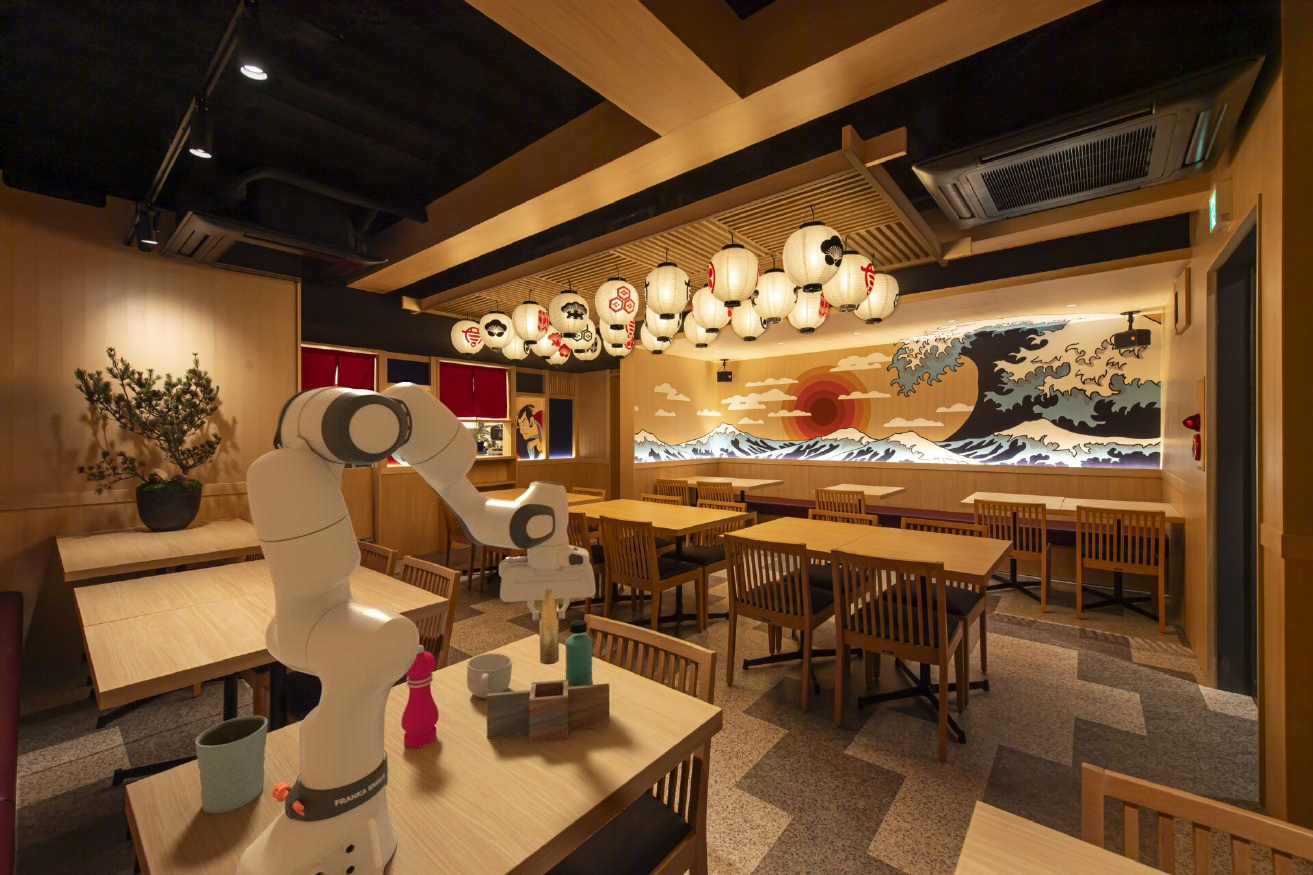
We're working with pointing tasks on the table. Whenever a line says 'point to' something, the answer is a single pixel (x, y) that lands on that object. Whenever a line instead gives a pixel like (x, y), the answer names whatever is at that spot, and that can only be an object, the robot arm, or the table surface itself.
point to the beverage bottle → (579, 655)
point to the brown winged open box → (547, 710)
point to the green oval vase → (231, 763)
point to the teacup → (488, 674)
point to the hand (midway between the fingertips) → (549, 618)
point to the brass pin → (549, 629)
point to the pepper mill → (420, 702)
